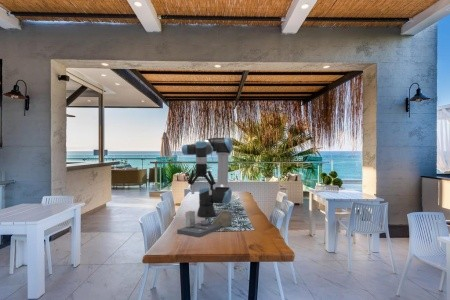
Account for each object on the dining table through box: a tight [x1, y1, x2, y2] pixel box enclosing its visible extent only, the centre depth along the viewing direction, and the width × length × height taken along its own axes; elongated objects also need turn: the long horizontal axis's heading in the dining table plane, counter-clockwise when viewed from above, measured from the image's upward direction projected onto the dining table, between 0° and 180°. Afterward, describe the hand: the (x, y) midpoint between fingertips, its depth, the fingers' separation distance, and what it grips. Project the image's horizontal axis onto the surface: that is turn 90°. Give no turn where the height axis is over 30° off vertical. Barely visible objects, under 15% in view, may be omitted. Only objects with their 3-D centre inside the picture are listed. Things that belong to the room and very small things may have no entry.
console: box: [176, 220, 221, 238], centre depth 221 cm, size 18×24×5 cm
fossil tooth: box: [212, 210, 233, 228], centre depth 235 cm, size 12×6×15 cm
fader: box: [185, 210, 196, 228], centre depth 223 cm, size 4×6×10 cm, turn 148°
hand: (201, 194), depth 227 cm, fingers open, 13 cm apart
